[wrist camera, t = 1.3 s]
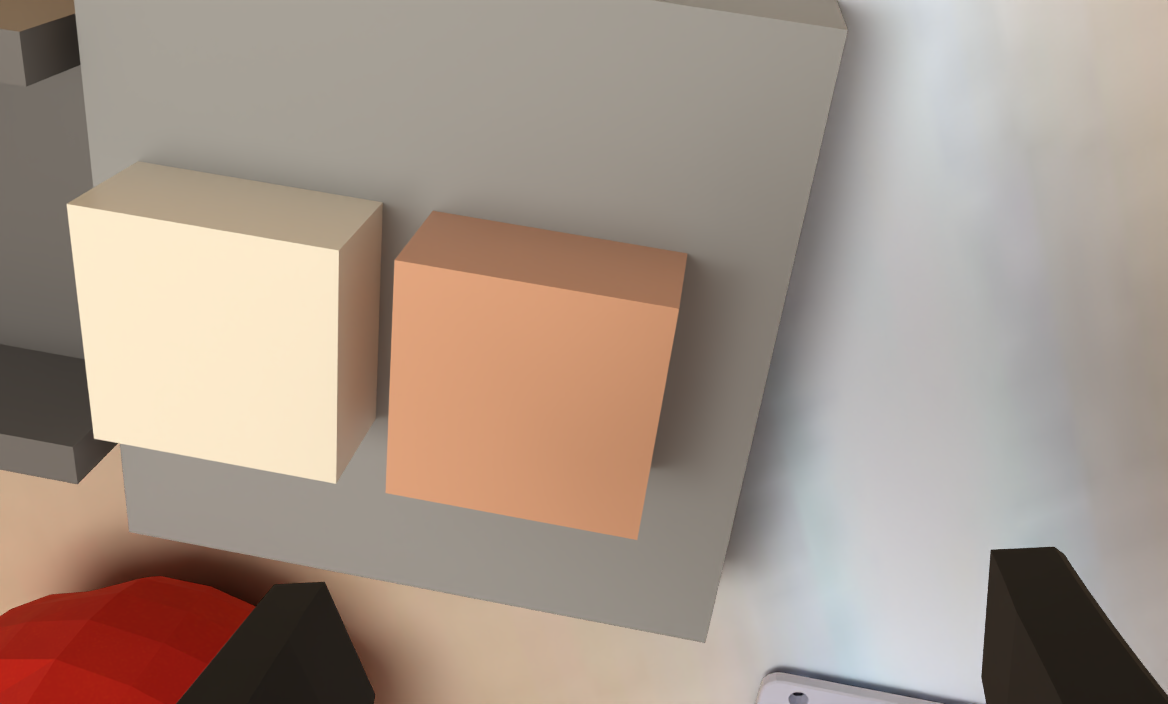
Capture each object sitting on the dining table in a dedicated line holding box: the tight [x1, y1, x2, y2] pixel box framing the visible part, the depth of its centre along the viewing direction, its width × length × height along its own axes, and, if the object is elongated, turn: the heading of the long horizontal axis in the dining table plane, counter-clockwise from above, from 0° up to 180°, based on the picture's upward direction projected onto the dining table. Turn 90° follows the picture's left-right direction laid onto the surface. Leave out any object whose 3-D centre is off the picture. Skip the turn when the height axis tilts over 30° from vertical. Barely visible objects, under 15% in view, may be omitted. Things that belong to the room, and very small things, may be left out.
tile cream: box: [67, 161, 383, 484], centre depth 21 cm, size 5×5×2 cm
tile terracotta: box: [386, 211, 688, 540], centre depth 21 cm, size 5×5×2 cm
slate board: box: [74, 0, 848, 643], centre depth 23 cm, size 14×14×3 cm
